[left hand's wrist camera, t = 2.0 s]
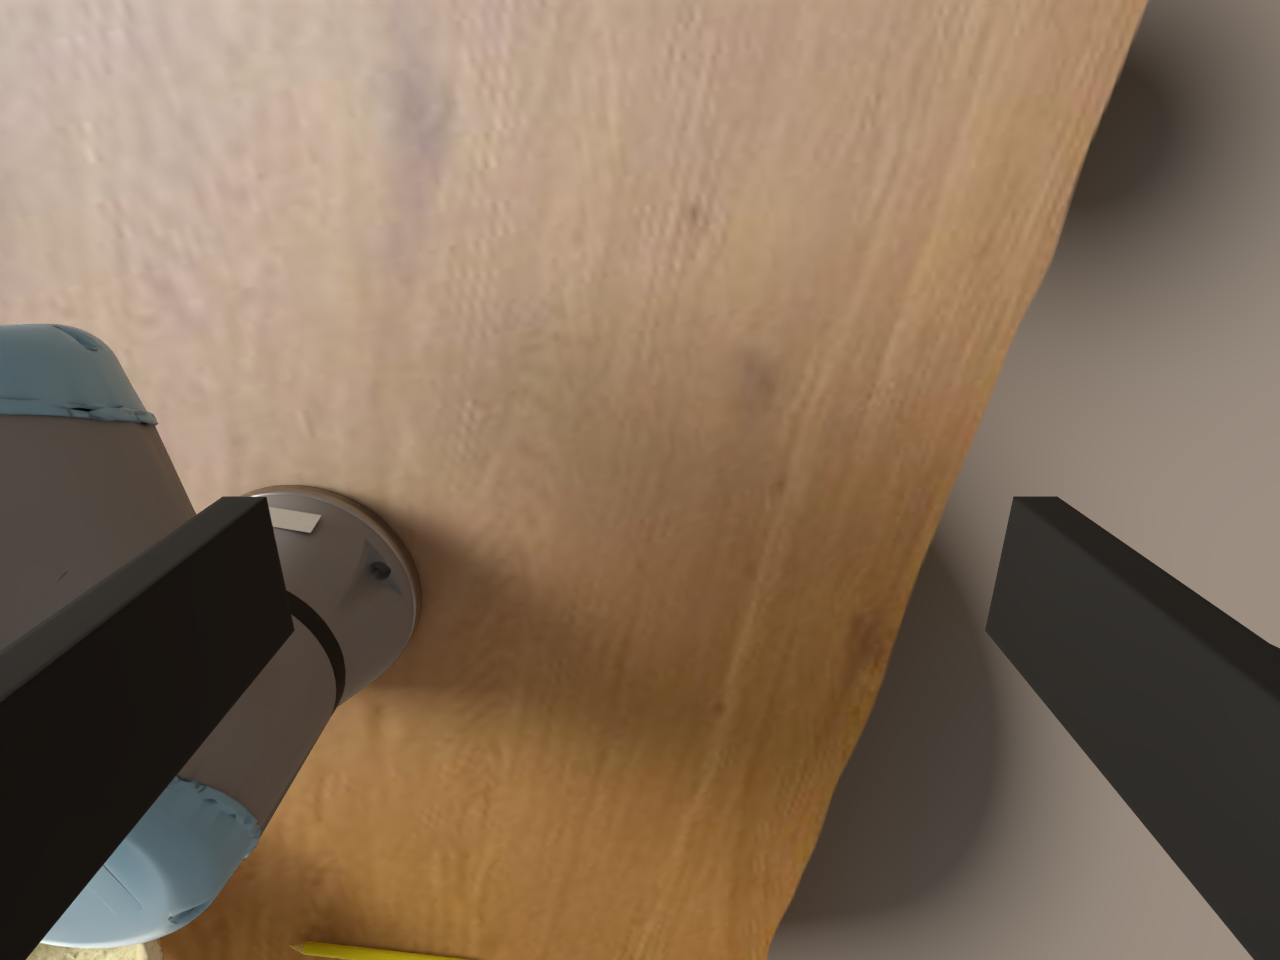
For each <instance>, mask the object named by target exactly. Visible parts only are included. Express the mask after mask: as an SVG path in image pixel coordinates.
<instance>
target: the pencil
mask: <svg viewBox="0 0 1280 960" xmlns="http://www.w3.org/2000/svg"><path fill="white" fill-rule="evenodd" d="M289 946H290V947H291V948H293V949H295V950H297V951H298V952H300V953H302V954H305V955H314V956H322V957H331V958H340V959H348V960H469V959H460V958H452V957H443V956H434V955H426V954H417V953H408V952H400V951H391V950H382V949H373V948H365V947H356V946H347V945H339V944H330V943H321V942H313V941H305V942H301V943H297V944H293V945H289Z"/></svg>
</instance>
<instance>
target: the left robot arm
mask: <svg viewBox="0 0 1280 960" xmlns="http://www.w3.org/2000/svg"><path fill="white" fill-rule="evenodd" d="M157 424H158V423H157V420H156V418H155V416H154V415H153V414H152V413H150V412H148V411H146V409H145V407H144V405H143V404H142V402H141V400H140V399H139V397H138V395H137V393H136V392H135V390H134V388H133V387H132V385H131V383H130V381H129V379H128V377H127V376H126V374H125V372H124V370H123V368H122V366H121V364H120V363H119V361H118V359H117V357H116V356H115V354H114V353H113V351H112V350H111V349H110V348H109V347H108V346H107V345H106V344H105V343H104V342H102V341H101V340H100V339H98V338H97V337H95V336H93V335H92V334H90V333H88V332H86V331H83V330H81V329H78V328H74V327H70V326H65V325H58V324H24V325H0V960H26V959H27V958H28V956H29V955H30V954H31V953H32V952H33V950H34V949H35V948H36V947H37V945H38V944H39V943H43V944H49V945H54V946H62V947H72V948H113V947H122V946H129V945H135V944H140V943H144V942H148V941H151V940H155V939H157V938H160V937H162V936H165V935H168V934H170V933H172V932H174V931H176V930H178V929H180V928H182V927H184V926H185V925H187V924H188V923H190V922H191V921H192V920H194V919H195V918H197V917H198V916H199V915H200V914H201V913H202V912H204V911H205V910H206V909H207V908H208V907H209V906H210V904H211V903H212V902H213V901H214V900H215V899H216V897H217V896H218V894H219V893H220V891H221V890H222V889H223V887H224V886H225V884H226V883H227V882H228V880H229V879H230V877H231V876H232V874H233V873H234V872H235V870H236V869H237V867H238V866H239V865H240V863H241V862H242V860H244V859H245V858H247V857H248V856H249V855H250V854H251V853H252V851H253V849H254V848H255V847H256V845H257V844H258V841H259V839H260V836H261V835H262V833H263V831H264V830H265V828H266V826H267V824H268V823H269V821H270V819H271V818H272V816H273V814H274V813H275V811H276V809H277V807H278V806H279V804H280V802H281V801H282V799H283V797H284V796H285V794H286V792H287V790H288V789H289V787H290V785H291V784H292V782H293V780H294V779H295V777H296V775H297V773H298V772H299V770H300V768H301V767H302V765H303V763H304V761H305V760H306V758H307V756H308V755H309V753H310V751H311V750H312V748H313V746H314V744H315V743H316V741H317V739H318V738H319V736H320V734H321V733H322V731H323V729H324V727H325V726H326V724H327V722H328V721H329V719H330V717H331V716H332V714H333V712H334V711H335V709H336V708H337V707H338V706H339V705H341V704H342V703H343V702H345V701H346V700H347V699H349V698H350V697H352V696H353V695H354V694H356V693H357V692H359V691H360V690H361V689H363V688H364V687H366V686H367V685H368V684H370V683H371V682H372V681H374V680H375V679H377V678H378V677H379V676H381V675H382V674H383V673H384V672H385V671H386V670H387V669H388V668H389V667H390V666H391V665H392V664H393V663H394V662H395V661H396V660H397V659H398V657H399V656H400V655H401V653H402V652H403V650H404V649H405V647H406V645H407V643H408V642H409V640H410V638H411V636H412V634H413V632H414V630H415V628H416V625H417V622H418V619H419V615H420V608H421V590H420V583H419V578H418V575H417V572H416V568H415V566H414V563H413V561H412V559H411V557H410V555H409V553H408V551H407V550H406V548H405V547H404V545H403V544H402V542H401V541H400V539H399V538H398V537H397V536H396V534H395V533H394V532H393V531H392V530H391V529H390V528H389V527H388V526H387V525H386V524H385V523H384V522H383V521H382V520H381V519H379V518H378V517H377V516H376V515H375V514H373V513H372V512H370V511H369V510H368V509H366V508H365V507H363V506H361V505H360V504H358V503H356V502H354V501H352V500H350V499H348V498H346V497H344V496H341V495H339V494H336V493H333V492H330V491H327V490H323V489H319V488H314V487H308V486H300V485H281V486H272V487H266V488H262V489H258V490H254V491H252V492H249V493H247V494H244V495H242V496H240V497H222V498H220V499H219V500H217V501H216V502H214V503H213V504H212V505H210V506H209V507H207V508H206V509H204V510H203V511H201V512H200V513H199V514H197V515H196V513H195V511H194V509H193V507H192V505H191V502H190V500H189V498H188V496H187V494H186V492H185V490H184V487H183V485H182V483H181V481H180V479H179V477H178V475H177V472H176V470H175V468H174V466H173V464H172V462H171V459H170V457H169V455H168V453H167V451H166V449H165V447H164V444H163V442H162V440H161V438H160V436H159V434H158V431H157V429H156V427H155V425H157ZM985 631H986V632H987V633H988V634H989V636H990V637H991V638H992V639H993V641H994V642H995V643H996V644H997V645H998V647H999V648H1000V649H1001V650H1002V652H1003V653H1004V654H1005V655H1006V656H1007V658H1008V659H1009V660H1010V661H1011V663H1012V664H1013V665H1014V666H1015V668H1016V669H1017V670H1018V671H1019V672H1020V674H1021V675H1022V676H1023V677H1024V679H1025V680H1026V681H1027V682H1028V683H1029V685H1030V686H1031V687H1032V688H1033V690H1034V691H1035V692H1036V693H1037V694H1038V696H1039V697H1040V698H1041V699H1042V701H1043V702H1044V703H1045V704H1046V705H1047V707H1048V708H1049V709H1050V710H1051V712H1052V713H1053V714H1054V715H1055V716H1056V718H1057V719H1058V720H1059V721H1060V723H1061V724H1062V725H1063V726H1064V727H1065V729H1066V730H1067V731H1068V732H1069V734H1070V735H1071V736H1072V737H1073V739H1074V740H1075V741H1076V742H1077V743H1078V745H1079V746H1080V747H1081V748H1082V749H1083V751H1084V752H1085V753H1086V754H1087V756H1088V757H1089V758H1090V759H1091V761H1092V762H1093V763H1094V764H1095V765H1096V767H1097V768H1098V769H1099V770H1100V772H1101V773H1102V774H1103V775H1104V776H1105V778H1106V779H1107V780H1108V781H1109V783H1110V784H1111V785H1112V786H1113V787H1114V789H1115V790H1116V791H1117V792H1118V794H1119V795H1120V796H1121V797H1122V799H1123V800H1124V801H1125V802H1126V803H1127V805H1128V806H1129V807H1130V808H1131V810H1132V811H1133V812H1134V813H1135V814H1136V816H1137V817H1138V818H1139V819H1140V821H1141V822H1142V823H1143V824H1144V825H1145V827H1146V828H1147V829H1148V830H1149V832H1150V833H1151V834H1152V835H1153V836H1154V838H1155V839H1156V840H1157V841H1158V843H1159V844H1160V845H1161V846H1162V847H1163V849H1164V850H1165V851H1166V852H1167V854H1168V855H1169V856H1170V857H1171V859H1172V860H1173V861H1174V862H1175V863H1176V865H1177V866H1178V867H1179V868H1180V870H1181V871H1182V872H1183V873H1184V874H1185V876H1186V877H1187V878H1188V879H1189V881H1190V882H1191V883H1192V884H1193V885H1194V887H1195V888H1196V889H1197V890H1198V892H1199V893H1200V894H1201V895H1202V896H1203V898H1204V899H1205V900H1206V901H1207V903H1208V904H1209V905H1210V906H1211V907H1212V909H1213V910H1214V911H1215V912H1216V914H1217V915H1218V916H1219V917H1220V919H1221V920H1222V921H1223V922H1224V923H1225V925H1226V926H1227V927H1228V928H1229V929H1230V931H1231V932H1232V933H1233V934H1234V936H1235V937H1236V938H1237V939H1238V941H1239V942H1240V943H1241V944H1242V945H1243V947H1244V948H1245V949H1246V950H1247V952H1248V953H1249V954H1250V955H1251V956H1252V958H1253V959H1254V960H1280V648H1278V647H1275V646H1273V645H1271V644H1269V643H1268V642H1266V641H1265V640H1263V639H1262V638H1261V637H1259V636H1258V635H1256V634H1255V633H1253V632H1252V631H1250V630H1249V629H1247V628H1246V627H1245V626H1243V625H1242V624H1240V623H1239V622H1237V621H1236V620H1235V619H1233V618H1232V617H1230V616H1229V615H1227V614H1226V613H1224V612H1223V611H1221V610H1220V609H1219V608H1217V607H1216V606H1214V605H1213V604H1211V603H1210V602H1209V601H1207V600H1206V599H1204V598H1203V597H1201V596H1200V595H1198V594H1197V593H1196V592H1194V591H1193V590H1191V589H1190V588H1188V587H1187V586H1185V585H1184V584H1182V583H1181V582H1180V581H1178V580H1177V579H1175V578H1174V577H1172V576H1171V575H1170V574H1168V573H1167V572H1165V571H1164V570H1162V569H1161V568H1159V567H1158V566H1157V565H1155V564H1154V563H1152V562H1151V561H1149V560H1148V559H1146V558H1145V557H1144V556H1142V555H1141V554H1139V553H1138V552H1136V551H1135V550H1133V549H1132V548H1131V547H1129V546H1128V545H1126V544H1125V543H1123V542H1122V541H1120V540H1119V539H1117V538H1116V537H1115V536H1113V535H1112V534H1110V533H1109V532H1107V531H1106V530H1105V529H1103V528H1102V527H1100V526H1099V525H1097V524H1096V523H1094V522H1093V521H1092V520H1090V519H1089V518H1087V517H1086V516H1084V515H1083V514H1081V513H1080V512H1079V511H1077V510H1076V509H1074V508H1073V507H1071V506H1070V505H1068V504H1067V503H1066V502H1064V501H1063V500H1061V499H1060V498H1058V497H1013V502H1012V506H1011V511H1010V516H1009V521H1008V525H1007V530H1006V535H1005V540H1004V544H1003V549H1002V554H1001V559H1000V564H999V568H998V573H997V578H996V582H995V587H994V592H993V596H992V601H991V606H990V611H989V615H988V620H987V625H986V630H985Z"/></svg>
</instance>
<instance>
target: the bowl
mask: <svg viewBox="0 0 1280 960" xmlns="http://www.w3.org/2000/svg"><path fill="white" fill-rule="evenodd" d="M26 960H164V955H163V951H162V947H161V941H160V938H157V939H155V940H151V941H148V942H144V943H140V944H135V945H129V946H122V947H113V948H72V947H62V946H54V945H49V944H43V943H39V944H38V945H37V947H36V948H35V949H34V950H33V952H32V953H31V954H30V955H29V956H28V958H27V959H26Z"/></svg>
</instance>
